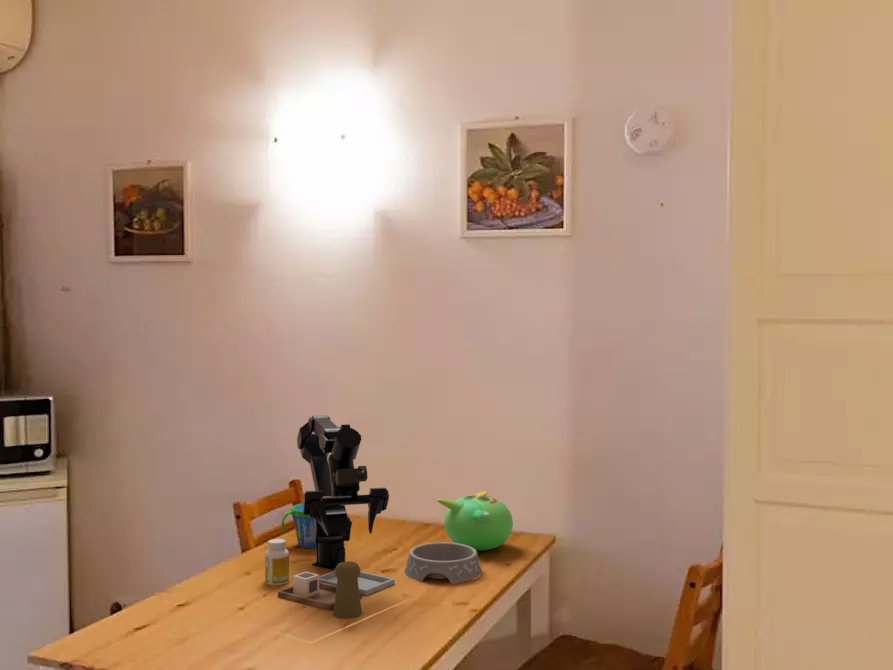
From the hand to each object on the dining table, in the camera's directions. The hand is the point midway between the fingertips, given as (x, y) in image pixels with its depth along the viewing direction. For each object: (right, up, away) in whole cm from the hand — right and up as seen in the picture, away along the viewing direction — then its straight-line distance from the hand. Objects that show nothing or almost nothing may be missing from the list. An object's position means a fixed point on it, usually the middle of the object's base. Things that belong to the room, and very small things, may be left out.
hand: (349, 533), depth 209 cm
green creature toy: (+29, -12, +40) cm, 51 cm away
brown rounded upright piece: (+1, -15, -10) cm, 18 cm away
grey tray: (0, -14, +10) cm, 17 cm away
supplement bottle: (-18, -14, +11) cm, 25 cm away
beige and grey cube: (-10, -14, +2) cm, 17 cm away
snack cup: (-14, -12, +43) cm, 46 cm away
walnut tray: (-7, -14, 0) cm, 16 cm away
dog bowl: (+20, -14, +20) cm, 32 cm away
